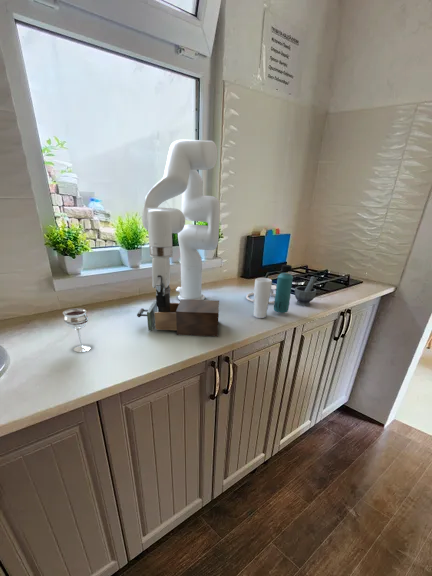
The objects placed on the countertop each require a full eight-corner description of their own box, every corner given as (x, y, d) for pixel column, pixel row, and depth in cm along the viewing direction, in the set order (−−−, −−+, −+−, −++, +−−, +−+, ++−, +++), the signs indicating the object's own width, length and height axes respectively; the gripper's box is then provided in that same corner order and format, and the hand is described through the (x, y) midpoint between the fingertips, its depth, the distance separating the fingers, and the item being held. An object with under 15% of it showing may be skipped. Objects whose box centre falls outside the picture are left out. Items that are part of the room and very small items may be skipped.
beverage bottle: (288, 312, 140) (296, 264, 129) (286, 317, 134) (294, 267, 124) (274, 310, 141) (280, 262, 131) (271, 315, 136) (277, 265, 126)
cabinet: (176, 334, 114) (176, 311, 110) (181, 320, 127) (180, 299, 122) (217, 336, 114) (218, 313, 110) (218, 322, 127) (219, 300, 122)
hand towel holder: (239, 290, 152) (261, 282, 166) (239, 299, 154) (261, 291, 168) (271, 297, 143) (291, 288, 157) (270, 306, 145) (290, 297, 160)
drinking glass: (267, 319, 131) (271, 282, 123) (250, 318, 132) (254, 281, 124) (268, 314, 136) (272, 278, 128) (252, 313, 137) (255, 277, 130)
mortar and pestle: (305, 308, 145) (310, 281, 139) (288, 303, 151) (292, 277, 145) (319, 303, 152) (324, 277, 146) (302, 299, 158) (306, 274, 152)
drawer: (135, 330, 114) (133, 311, 111) (143, 317, 126) (142, 300, 122) (186, 332, 114) (185, 313, 111) (189, 319, 126) (189, 302, 122)
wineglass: (70, 345, 103) (62, 309, 97) (92, 343, 106) (85, 307, 100) (71, 354, 98) (62, 316, 92) (94, 351, 101) (87, 314, 94)
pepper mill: (155, 322, 119) (152, 283, 111) (164, 318, 122) (162, 280, 115) (165, 325, 116) (162, 285, 109) (174, 321, 120) (173, 282, 113)
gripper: (154, 247, 114) (157, 295, 123) (144, 255, 99) (148, 309, 108) (175, 248, 114) (177, 296, 123) (168, 256, 99) (170, 310, 108)
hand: (163, 302), depth 115 cm, fingers open, 9 cm apart
